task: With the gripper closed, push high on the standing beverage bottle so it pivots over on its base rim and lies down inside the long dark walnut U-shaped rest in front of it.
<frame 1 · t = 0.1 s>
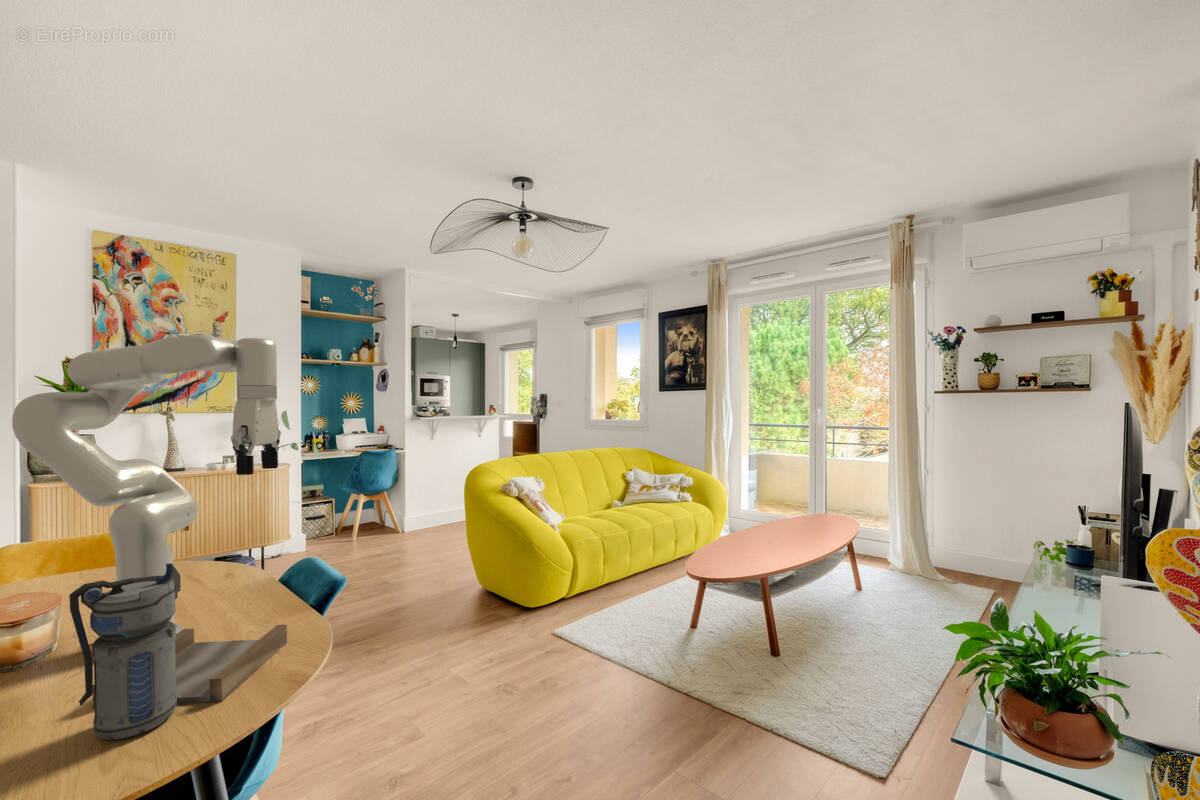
hand: (258, 471, 117), 37 cm above the table, tool pointing down, fingers open, 9 cm apart
u rest: (201, 671, 102), on the table
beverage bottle: (129, 727, 85), on the table
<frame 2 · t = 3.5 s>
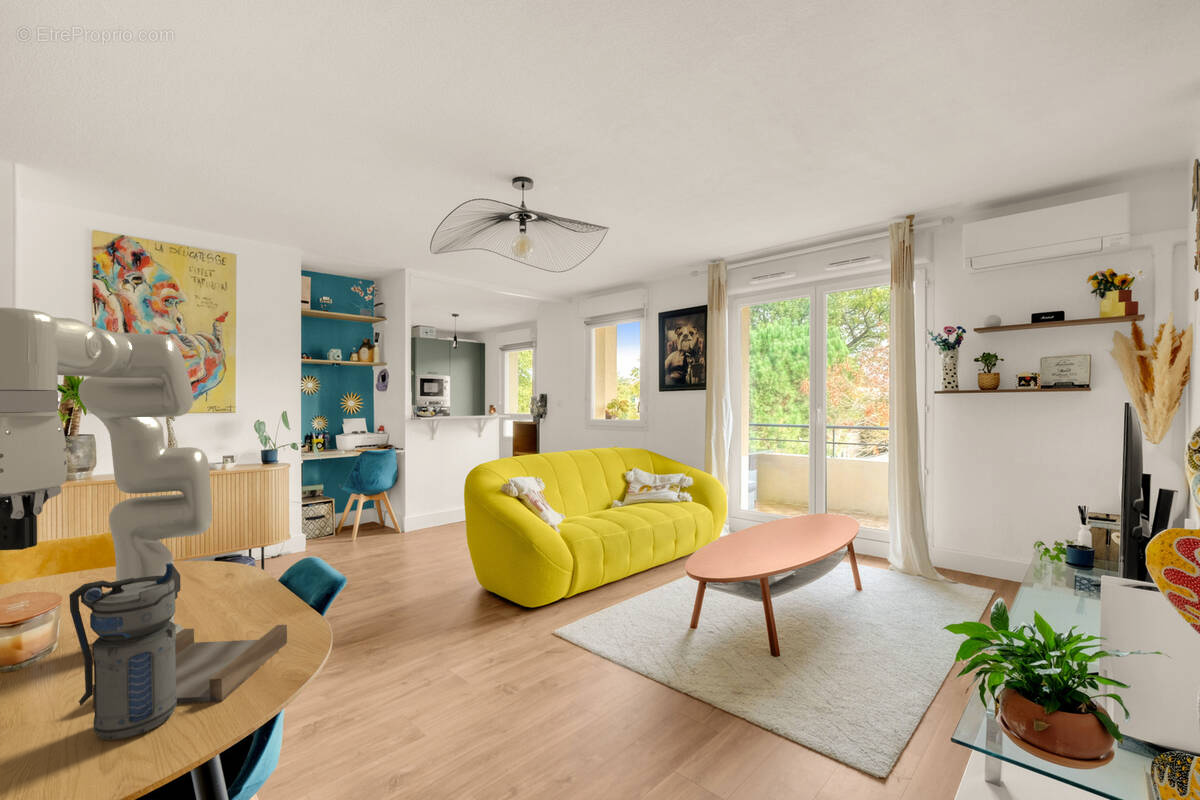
hand: (17, 547, 68), 34 cm above the table, tool pointing down, fingers closed
nothing on the table moved.
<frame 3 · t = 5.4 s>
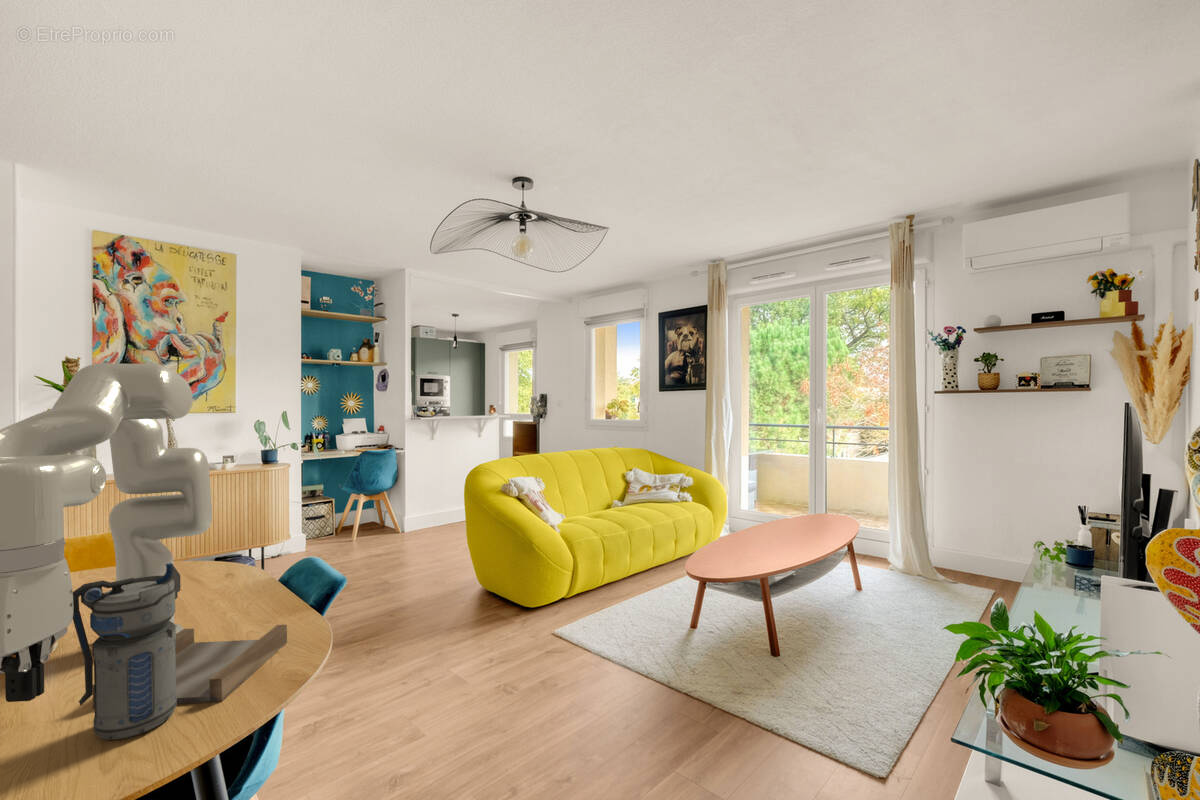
hand: (25, 697, 69), 14 cm above the table, tool pointing down, fingers closed
nothing on the table moved.
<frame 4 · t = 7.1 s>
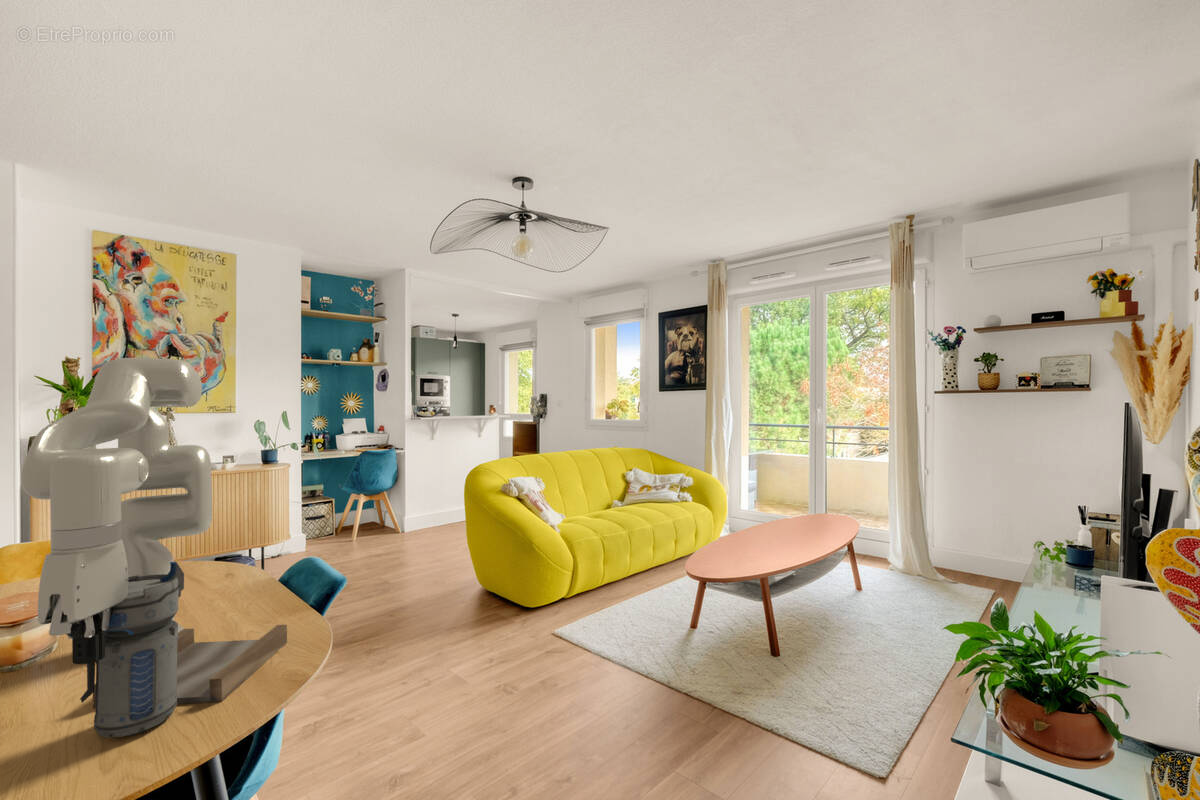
hand: (89, 661, 78), 14 cm above the table, tool pointing down, fingers closed
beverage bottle: (129, 726, 85), on the table, touching gripper
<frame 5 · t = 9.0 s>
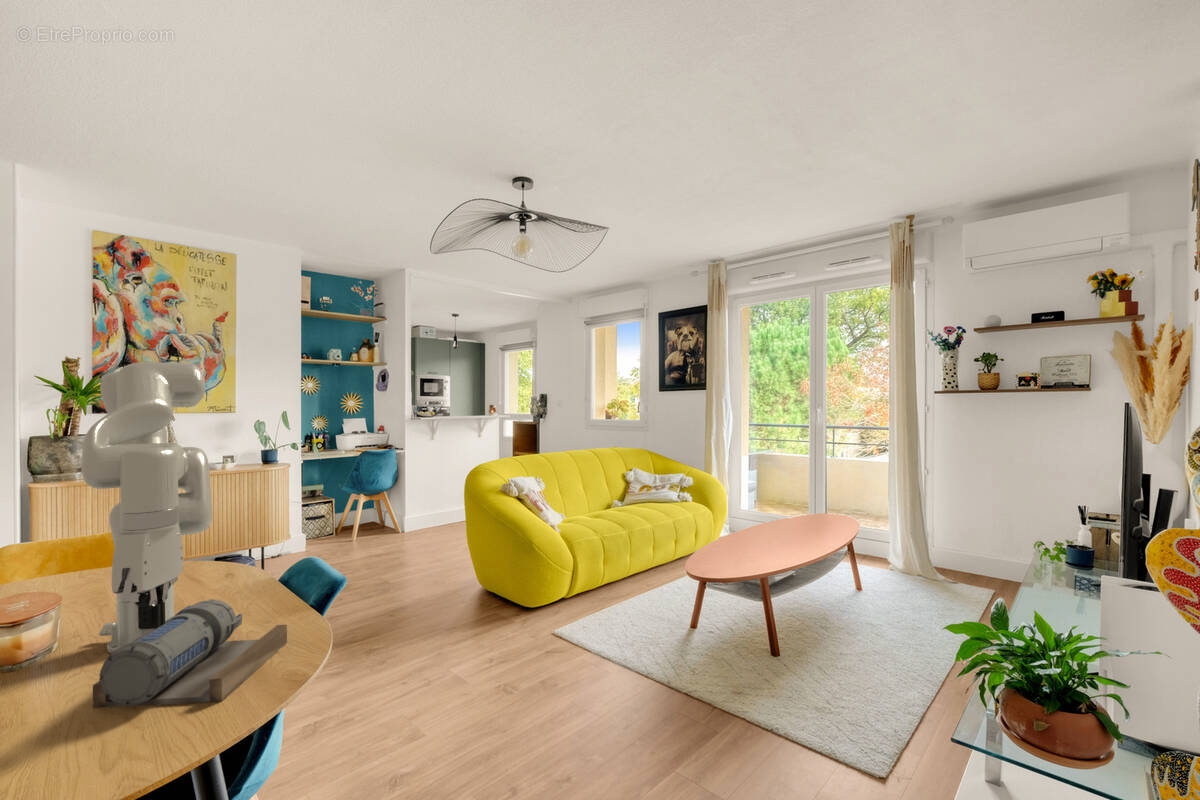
hand: (152, 626, 90), 14 cm above the table, tool pointing down, fingers closed
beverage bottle: (120, 679, 88), point 6 cm above the table, touching u rest
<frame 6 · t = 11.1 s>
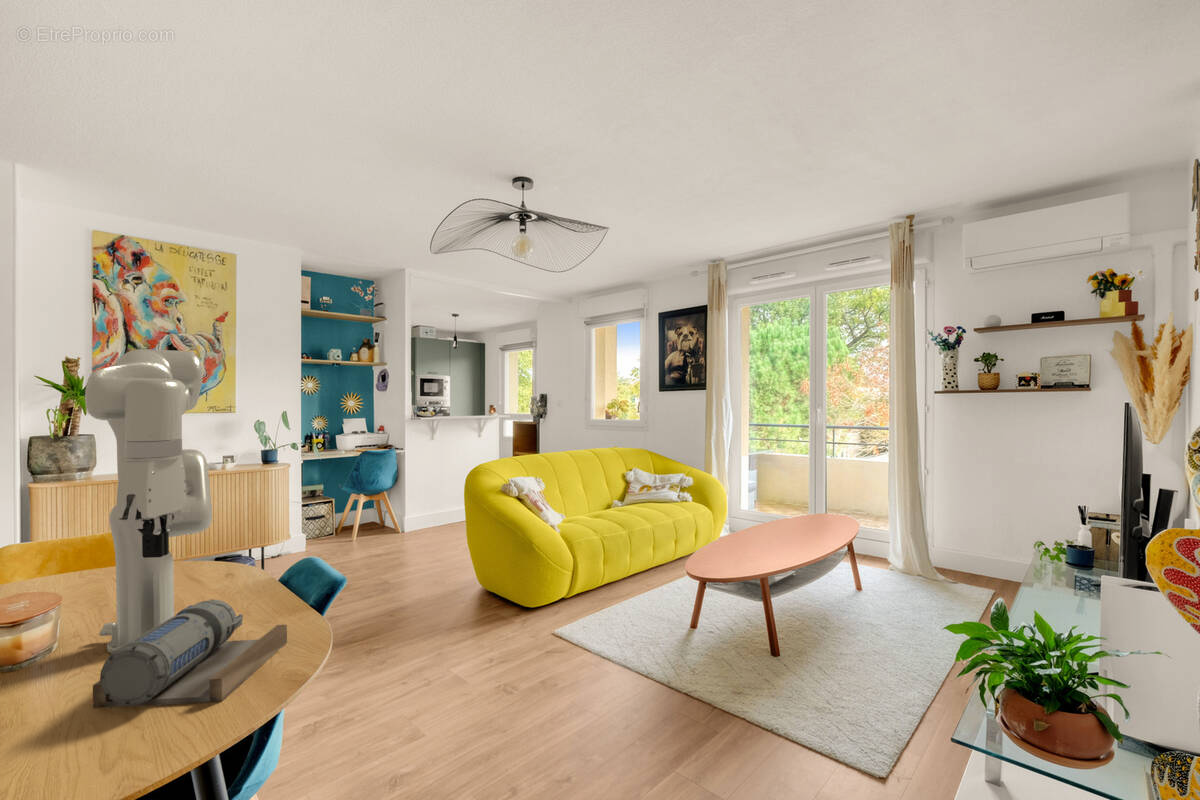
hand: (155, 555, 91), 26 cm above the table, tool pointing down, fingers closed
nothing on the table moved.
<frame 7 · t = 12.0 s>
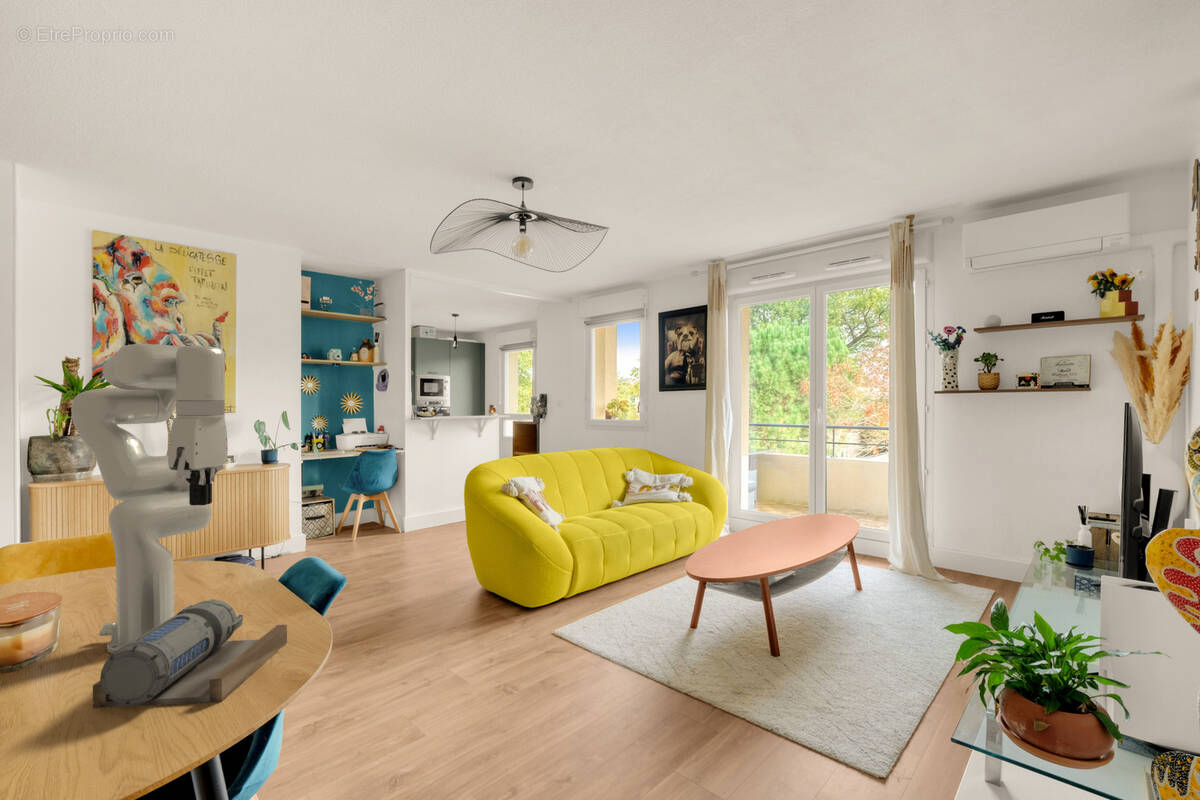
hand: (200, 504, 102), 32 cm above the table, tool pointing down, fingers closed
nothing on the table moved.
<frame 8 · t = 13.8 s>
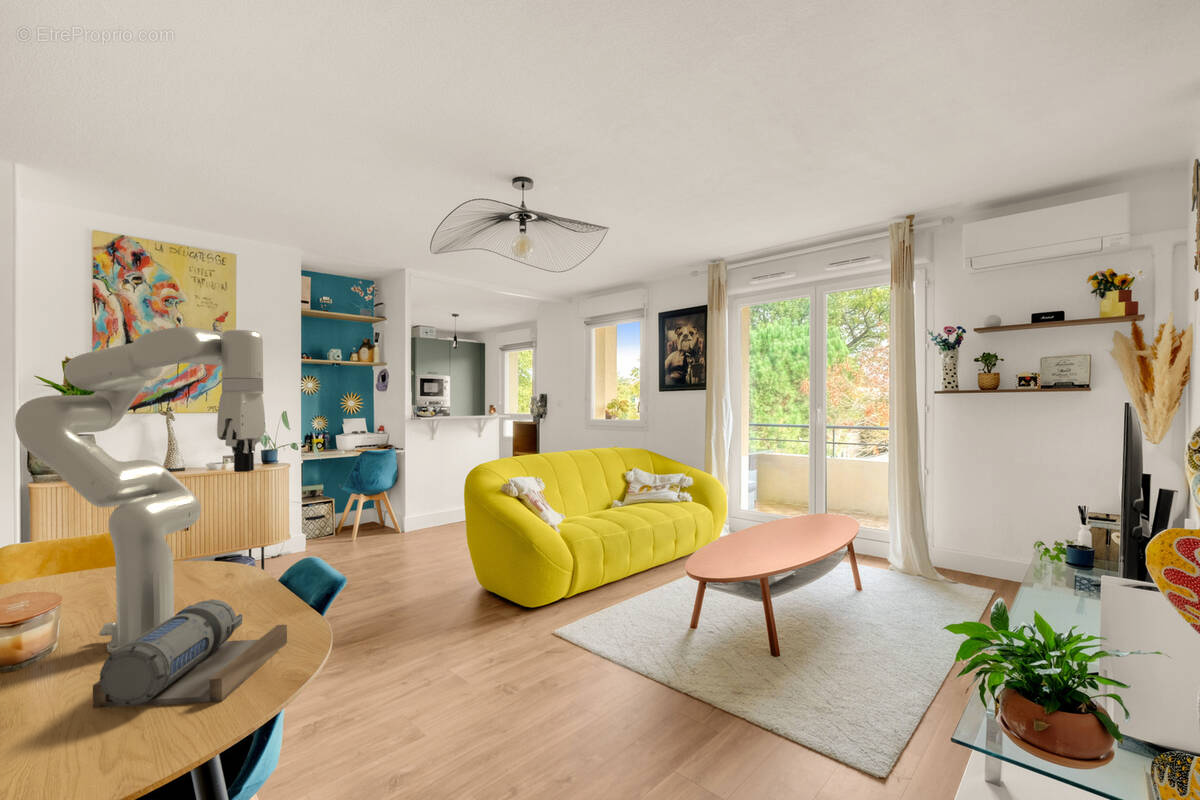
hand: (244, 471, 115), 37 cm above the table, tool pointing down, fingers closed
nothing on the table moved.
at the end: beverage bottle tilted 90°; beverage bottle inside the target area on the u rest (5.0 cm from its centre), point 6.1 cm above the u rest's base; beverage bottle touching u rest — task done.
